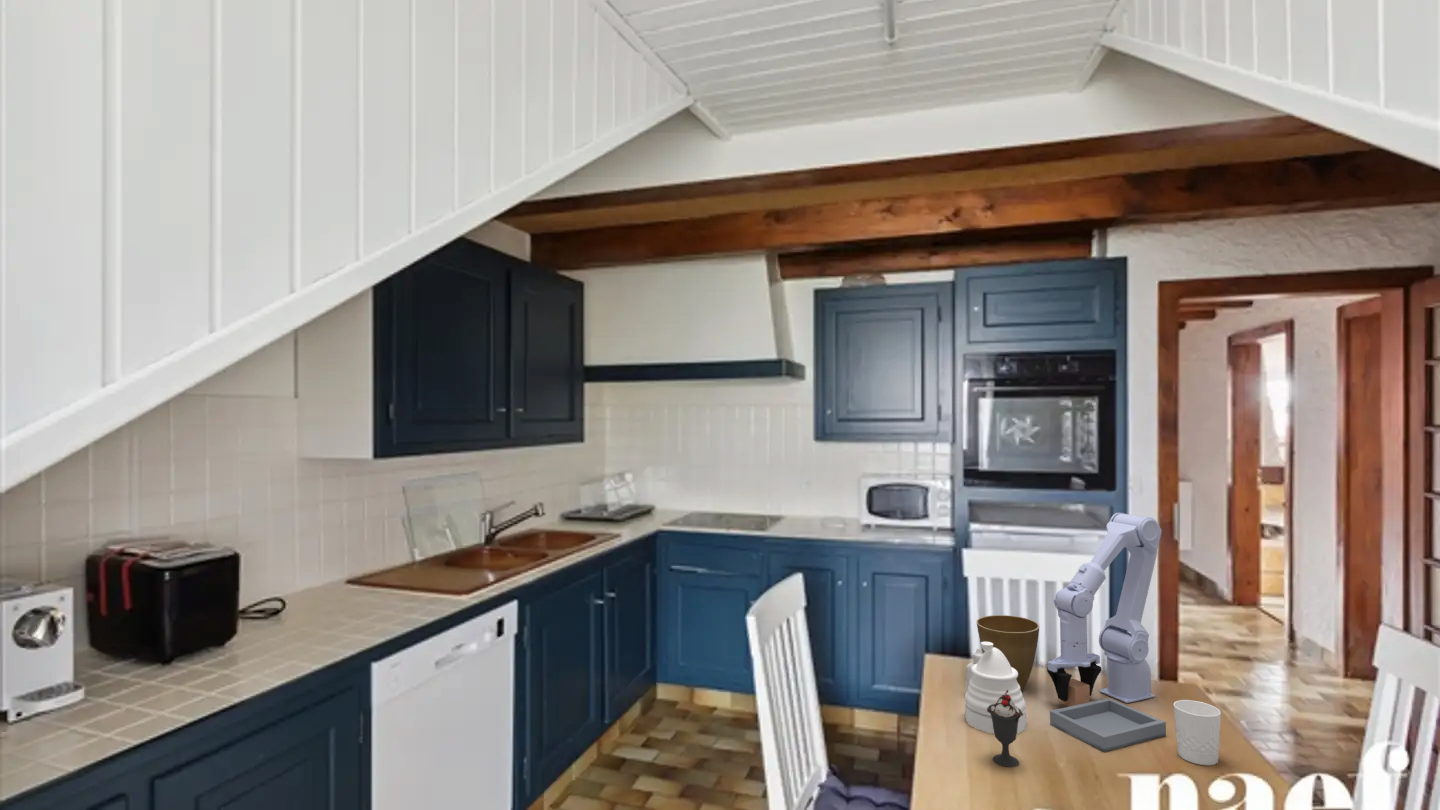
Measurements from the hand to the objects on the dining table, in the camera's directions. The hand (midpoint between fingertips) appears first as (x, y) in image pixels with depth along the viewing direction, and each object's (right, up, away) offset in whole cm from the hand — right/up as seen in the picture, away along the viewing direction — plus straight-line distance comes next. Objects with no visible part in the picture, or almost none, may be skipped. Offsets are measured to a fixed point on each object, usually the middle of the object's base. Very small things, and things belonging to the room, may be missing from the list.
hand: (1074, 697), depth 170 cm
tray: (0, -2, -14) cm, 14 cm away
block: (0, -2, 0) cm, 2 cm away
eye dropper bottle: (-21, -2, +5) cm, 22 cm away
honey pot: (-22, -2, -9) cm, 24 cm away
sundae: (-27, -2, -27) cm, 38 cm away
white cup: (+12, -2, -27) cm, 29 cm away
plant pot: (-11, -2, +12) cm, 16 cm away
